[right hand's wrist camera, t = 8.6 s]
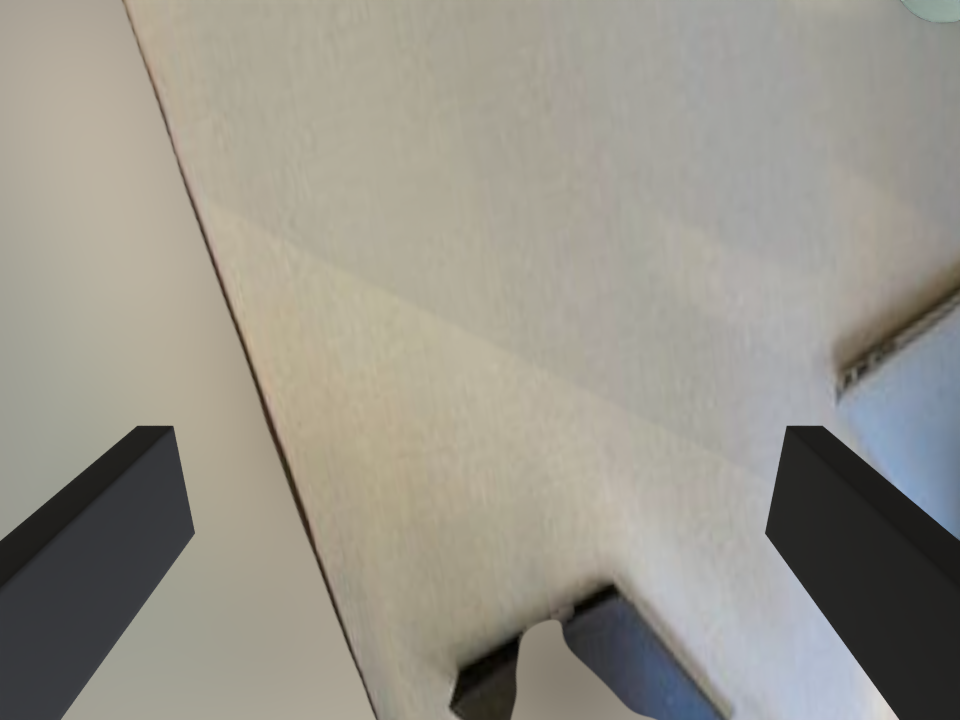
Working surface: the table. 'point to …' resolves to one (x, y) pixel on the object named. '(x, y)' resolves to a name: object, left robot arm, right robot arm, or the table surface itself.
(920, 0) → the jar
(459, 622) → the table surface
